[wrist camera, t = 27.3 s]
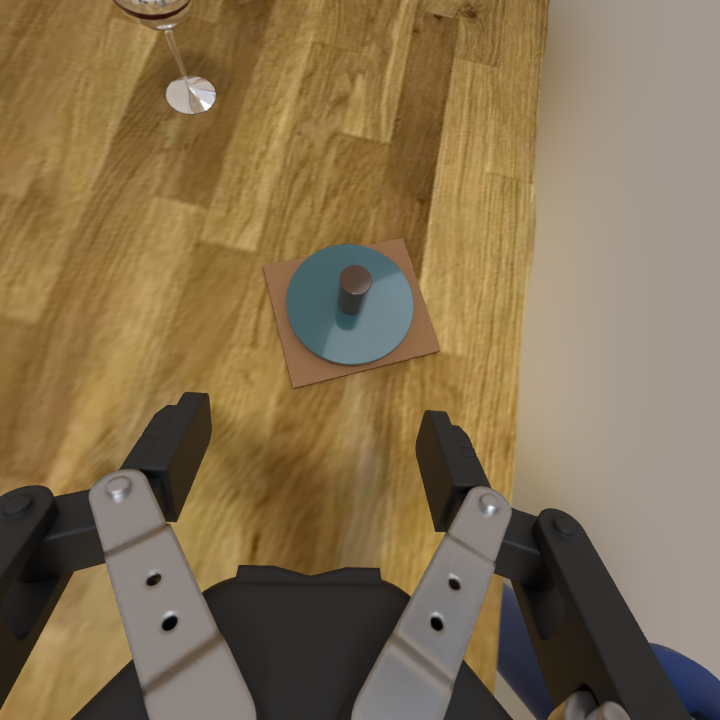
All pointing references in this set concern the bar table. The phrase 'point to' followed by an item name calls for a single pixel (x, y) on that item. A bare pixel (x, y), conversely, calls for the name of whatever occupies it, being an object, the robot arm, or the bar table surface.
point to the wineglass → (165, 13)
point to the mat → (315, 369)
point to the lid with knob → (349, 304)
